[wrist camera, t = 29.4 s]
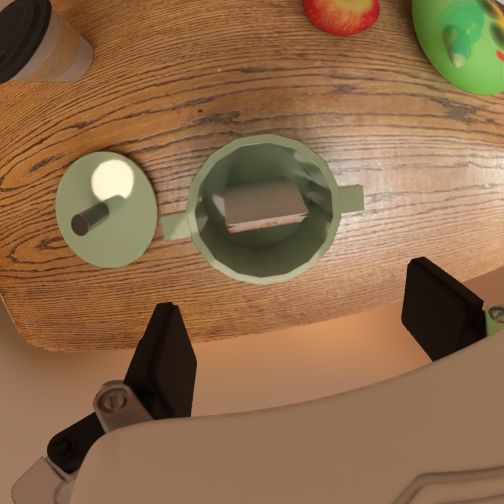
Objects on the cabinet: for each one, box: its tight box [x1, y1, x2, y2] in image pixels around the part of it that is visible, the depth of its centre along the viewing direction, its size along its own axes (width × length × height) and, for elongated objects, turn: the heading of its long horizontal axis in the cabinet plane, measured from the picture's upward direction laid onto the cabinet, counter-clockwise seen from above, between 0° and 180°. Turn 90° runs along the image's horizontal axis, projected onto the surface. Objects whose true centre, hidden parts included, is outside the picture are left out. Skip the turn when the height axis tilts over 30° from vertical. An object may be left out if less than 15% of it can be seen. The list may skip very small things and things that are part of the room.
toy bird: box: [412, 0, 504, 95], centre depth 17 cm, size 18×17×15 cm
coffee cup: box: [0, 0, 93, 84], centre depth 17 cm, size 9×9×15 cm
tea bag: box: [224, 177, 309, 233], centre depth 27 cm, size 4×7×10 cm, turn 99°
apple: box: [302, 0, 380, 36], centre depth 19 cm, size 8×8×10 cm
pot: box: [159, 133, 364, 285], centre depth 28 cm, size 14×19×8 cm
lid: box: [55, 151, 158, 268], centre depth 28 cm, size 15×15×7 cm
